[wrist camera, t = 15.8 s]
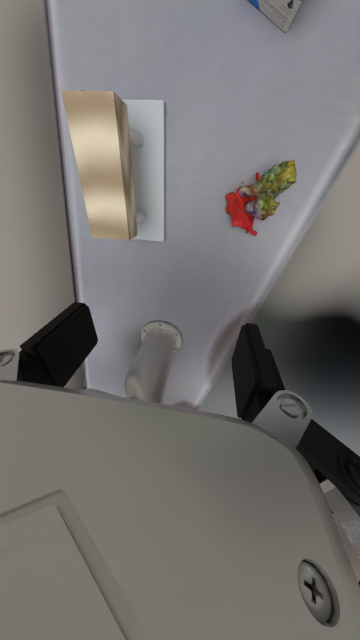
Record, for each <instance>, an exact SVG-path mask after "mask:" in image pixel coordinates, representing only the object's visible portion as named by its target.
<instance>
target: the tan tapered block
mask: <svg viewBox="0 0 360 640" xmlns="http://www.w3.org/2000/svg"><path fill="white" fill-rule="evenodd" d="M61 92H62V97H63V101H64V106H65V111H66V115H67V120H68V125H69V129H70V134H71V139H72V144H73V148H74V153H75V158H76V162H77V167H78V172H79V176H80V181H81V186H82V190H83V195H84V200H85V205H86V209H87V214H88V219H89V223H90V228H91V233H92V237H97V238H109V239H121V240H130V239H132V238H134V237H135V236H137V235H138V233H137V221H136V208H135V196H134V183H133V171H132V158H131V146H130V133H129V121H128V108H127V105H126V104H125V103H124V102H123V101H122V100H121V99H120V98H119V97H118V96H117V95H116V94H115V93H114V92H113V91H61Z"/></svg>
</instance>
